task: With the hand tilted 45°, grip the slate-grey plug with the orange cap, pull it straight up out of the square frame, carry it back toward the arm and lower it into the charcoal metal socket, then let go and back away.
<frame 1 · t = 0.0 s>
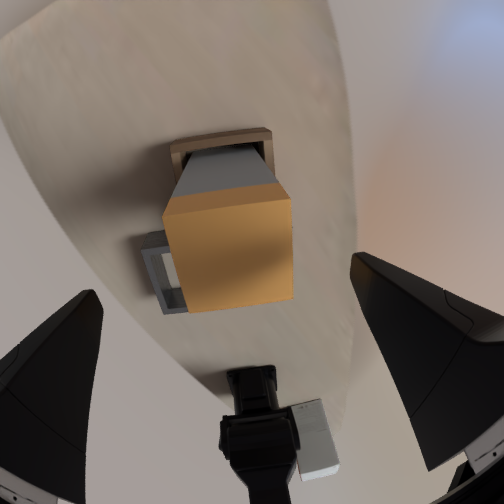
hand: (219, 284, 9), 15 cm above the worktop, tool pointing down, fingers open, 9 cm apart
small box: (304, 410, 44), on the worktop
socket: (193, 260, 25), on the worktop
square frame: (225, 174, 22), on the worktop
plug: (228, 202, 16), in the square frame
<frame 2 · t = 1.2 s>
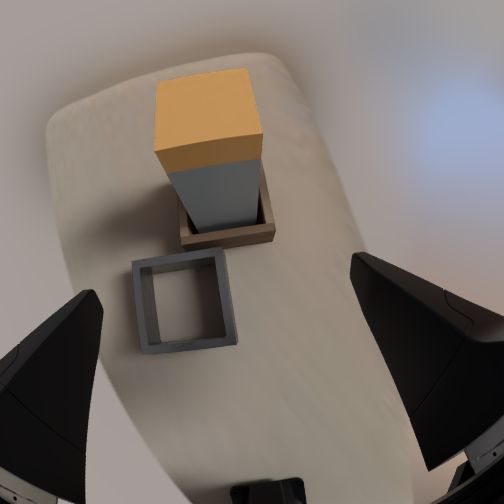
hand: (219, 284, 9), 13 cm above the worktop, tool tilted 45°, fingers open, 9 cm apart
socket: (189, 304, 22), on the worktop
square frame: (225, 208, 24), on the worktop
plug: (217, 171, 17), in the square frame
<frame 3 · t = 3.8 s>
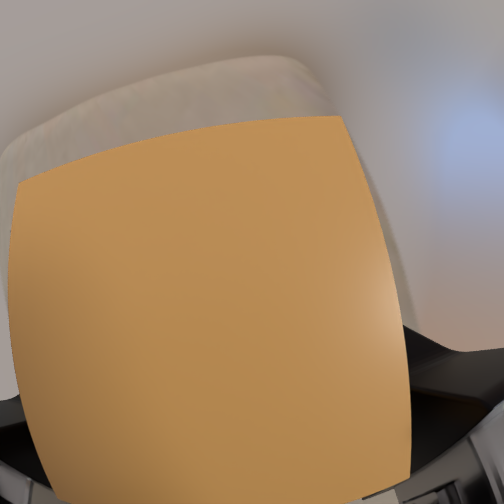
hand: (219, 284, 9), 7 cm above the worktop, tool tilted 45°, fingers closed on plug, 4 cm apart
plug: (226, 327, 9), in the square frame, touching gripper
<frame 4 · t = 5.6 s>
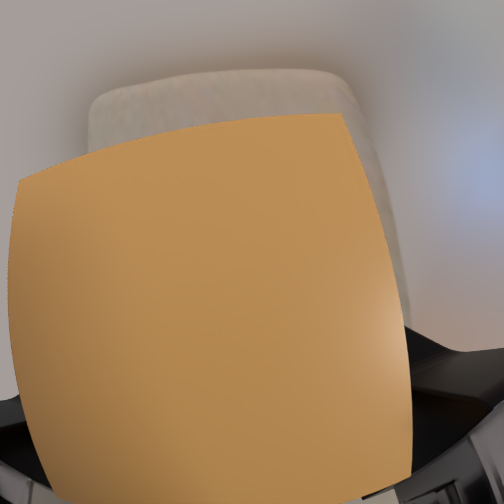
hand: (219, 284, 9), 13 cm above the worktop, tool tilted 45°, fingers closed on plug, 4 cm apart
plug: (226, 326, 9), point 13 cm above the worktop, touching gripper
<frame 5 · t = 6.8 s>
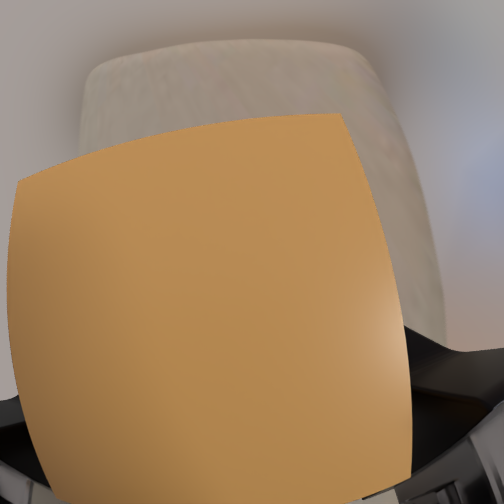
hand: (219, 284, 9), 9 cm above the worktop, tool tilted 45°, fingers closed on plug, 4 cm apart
plug: (226, 327, 9), point 9 cm above the worktop, touching gripper
when the fingers open (8 cm above the worktop, at t = 7.8 s): plug drops 1 cm, resting in socket.
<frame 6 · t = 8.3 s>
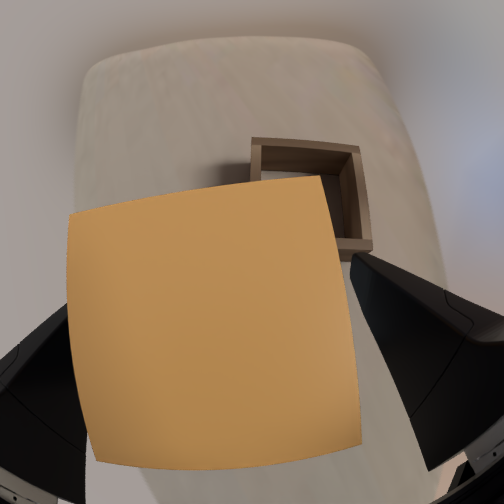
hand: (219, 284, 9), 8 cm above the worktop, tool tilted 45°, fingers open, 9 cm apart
square frame: (302, 209, 18), on the worktop
plug: (229, 326, 10), in the socket
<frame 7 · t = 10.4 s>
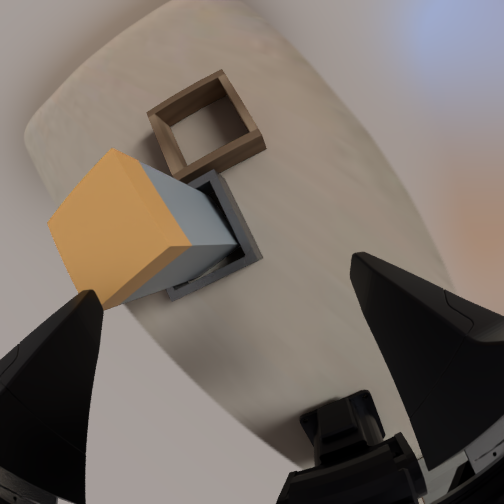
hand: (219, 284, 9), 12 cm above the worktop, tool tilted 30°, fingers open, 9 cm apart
small box: (436, 465, 19), on the worktop
socket: (204, 237, 22), on the worktop
square frame: (210, 134, 22), on the worktop
plug: (169, 235, 15), in the socket
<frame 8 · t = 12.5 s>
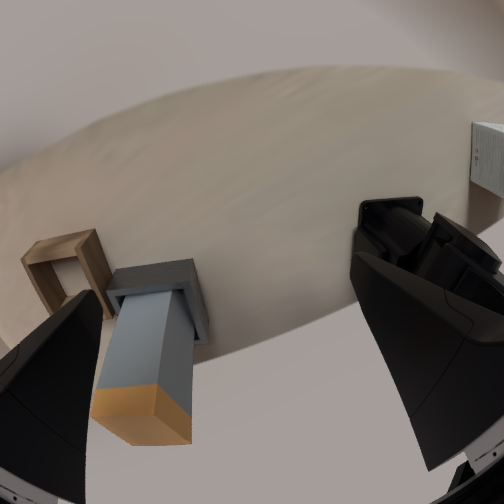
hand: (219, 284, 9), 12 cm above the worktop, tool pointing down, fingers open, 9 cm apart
small box: (490, 150, 20), on the worktop
socket: (163, 296, 24), on the worktop
square frame: (76, 269, 21), on the worktop
plug: (152, 352, 18), in the socket
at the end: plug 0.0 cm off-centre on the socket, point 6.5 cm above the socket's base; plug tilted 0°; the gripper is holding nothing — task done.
